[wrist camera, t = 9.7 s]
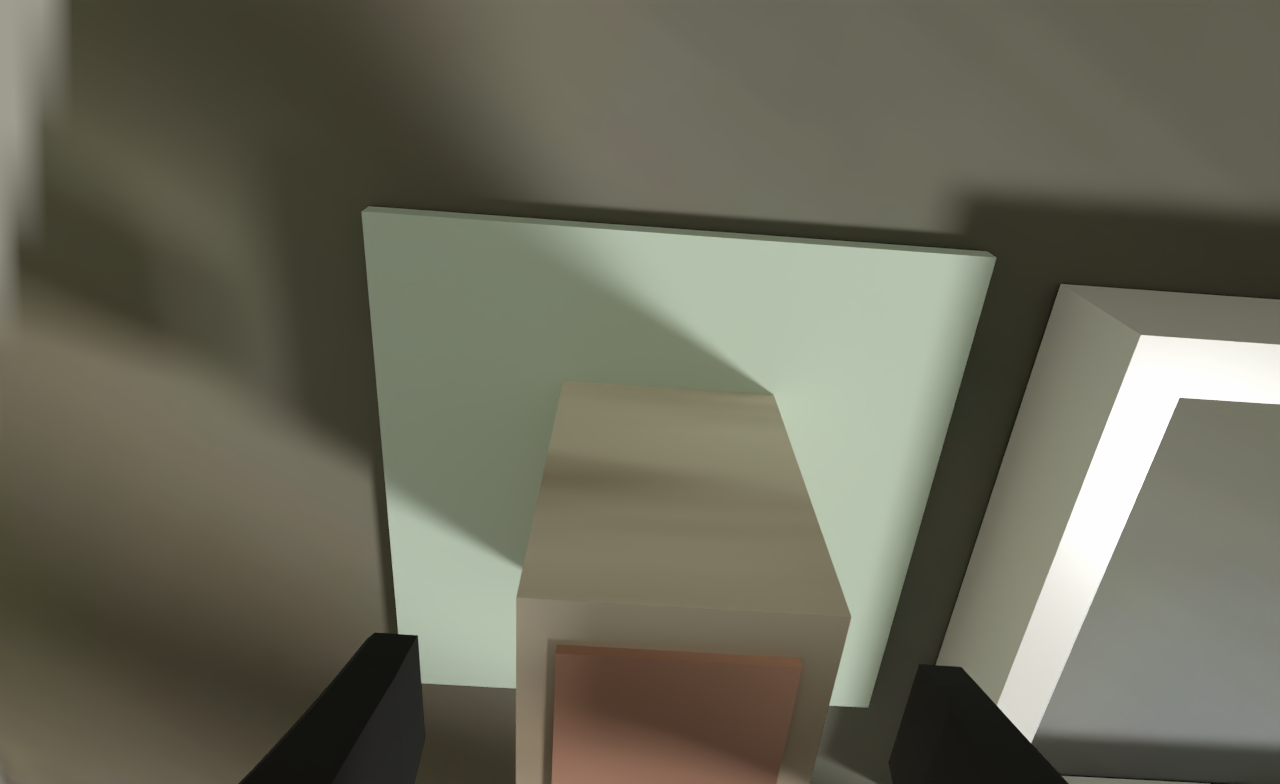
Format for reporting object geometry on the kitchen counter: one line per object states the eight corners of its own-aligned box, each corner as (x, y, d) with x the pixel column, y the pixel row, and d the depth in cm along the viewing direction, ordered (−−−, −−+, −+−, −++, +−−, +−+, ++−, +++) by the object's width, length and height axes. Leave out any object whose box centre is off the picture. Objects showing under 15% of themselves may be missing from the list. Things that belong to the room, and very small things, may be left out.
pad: (863, 694, 19) (868, 707, 18) (407, 669, 18) (402, 682, 18) (987, 251, 14) (996, 257, 13) (369, 206, 13) (361, 211, 13)
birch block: (739, 599, 17) (787, 886, 11) (556, 588, 17) (513, 872, 11) (773, 394, 15) (854, 626, 9) (563, 380, 14) (514, 606, 9)
